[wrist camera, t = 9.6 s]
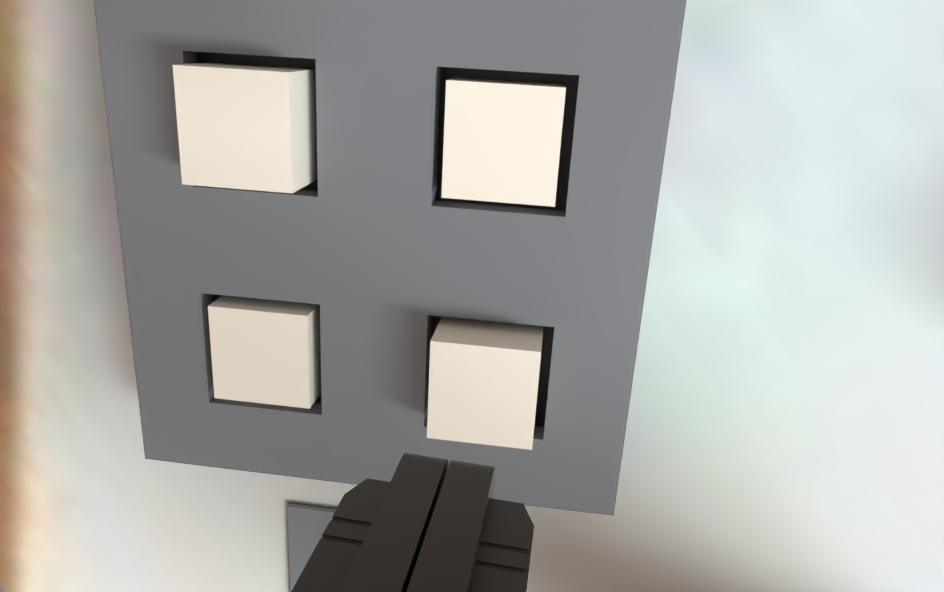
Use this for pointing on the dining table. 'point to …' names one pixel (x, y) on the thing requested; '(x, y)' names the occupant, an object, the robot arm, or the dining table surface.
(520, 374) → the button
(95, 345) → the dining table surface
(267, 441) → the button box
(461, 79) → the button
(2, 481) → the dining table surface
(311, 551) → the pattern card
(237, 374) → the button
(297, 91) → the button
